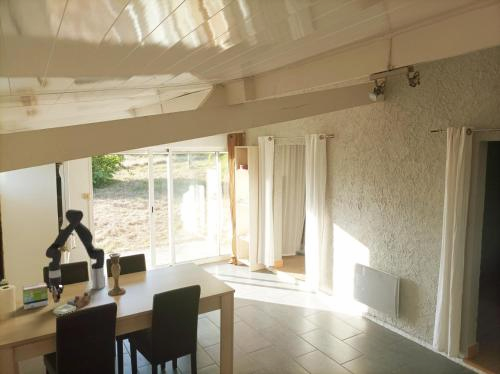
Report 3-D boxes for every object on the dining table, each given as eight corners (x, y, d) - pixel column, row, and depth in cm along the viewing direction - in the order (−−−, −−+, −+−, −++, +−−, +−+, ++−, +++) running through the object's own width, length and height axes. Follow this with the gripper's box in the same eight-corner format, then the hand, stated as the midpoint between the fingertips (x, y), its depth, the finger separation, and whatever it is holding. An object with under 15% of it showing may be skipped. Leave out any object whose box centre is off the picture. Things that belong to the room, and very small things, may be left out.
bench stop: (87, 301, 272) (86, 291, 272) (90, 302, 271) (89, 292, 270) (73, 307, 261) (73, 297, 261) (76, 308, 260) (76, 297, 259)
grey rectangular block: (79, 301, 274) (78, 296, 274) (86, 302, 271) (85, 297, 271) (67, 306, 265) (67, 301, 264) (74, 307, 262) (74, 302, 262)
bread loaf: (57, 300, 265) (56, 288, 264) (60, 301, 263) (59, 289, 263) (52, 302, 262) (52, 290, 261) (56, 303, 260) (55, 290, 259)
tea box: (24, 310, 258) (23, 290, 257) (23, 305, 266) (22, 286, 265) (48, 305, 267) (47, 285, 266) (46, 300, 275) (45, 281, 274)
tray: (66, 307, 262) (65, 304, 261) (76, 310, 258) (75, 306, 257) (53, 313, 252) (53, 309, 252) (64, 315, 248) (63, 311, 248)
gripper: (66, 275, 261) (68, 298, 263) (52, 272, 267) (54, 295, 269) (57, 278, 254) (59, 302, 256) (43, 276, 260) (45, 299, 262)
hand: (56, 298), depth 262 cm, fingers closed on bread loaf, 3 cm apart
